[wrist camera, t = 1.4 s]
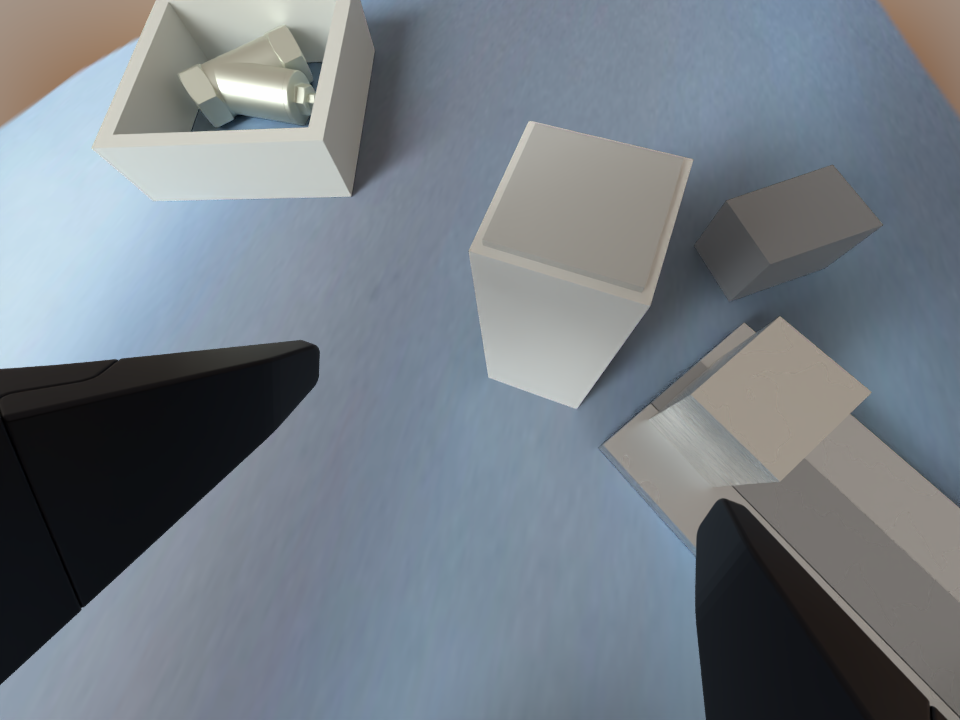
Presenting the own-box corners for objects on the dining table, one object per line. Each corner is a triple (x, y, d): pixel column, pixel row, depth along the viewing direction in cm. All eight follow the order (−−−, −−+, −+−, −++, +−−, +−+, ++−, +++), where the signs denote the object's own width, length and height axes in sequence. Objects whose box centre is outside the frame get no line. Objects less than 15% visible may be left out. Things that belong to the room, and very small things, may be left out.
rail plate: (1070, 976, 14) (1465, 1308, 8) (598, 447, 21) (632, 426, 15) (1216, 756, 16) (1634, 906, 10) (732, 331, 23) (810, 271, 17)
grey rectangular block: (728, 303, 23) (770, 264, 20) (693, 246, 25) (726, 200, 21) (823, 269, 24) (883, 225, 20) (783, 215, 25) (832, 164, 21)
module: (576, 409, 22) (653, 301, 10) (488, 377, 23) (468, 245, 11) (603, 325, 23) (698, 148, 12) (520, 298, 24) (530, 110, 13)
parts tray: (153, 201, 28) (91, 148, 24) (203, 58, 33) (159, -7, 29) (351, 196, 27) (322, 140, 23) (374, 50, 32) (354, -20, 28)
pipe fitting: (339, 122, 31) (301, 63, 32) (318, 72, 27) (276, 9, 29) (241, 171, 30) (206, 108, 31) (205, 127, 26) (167, 59, 28)
